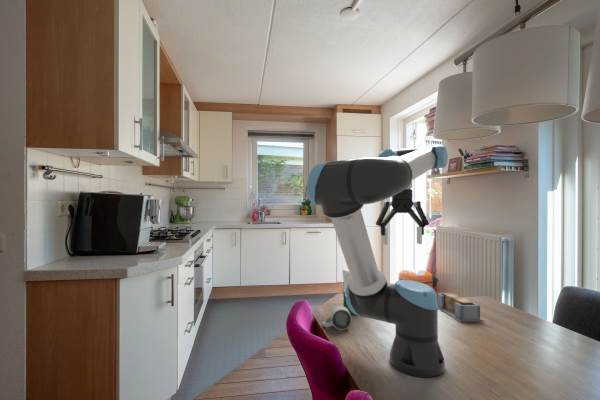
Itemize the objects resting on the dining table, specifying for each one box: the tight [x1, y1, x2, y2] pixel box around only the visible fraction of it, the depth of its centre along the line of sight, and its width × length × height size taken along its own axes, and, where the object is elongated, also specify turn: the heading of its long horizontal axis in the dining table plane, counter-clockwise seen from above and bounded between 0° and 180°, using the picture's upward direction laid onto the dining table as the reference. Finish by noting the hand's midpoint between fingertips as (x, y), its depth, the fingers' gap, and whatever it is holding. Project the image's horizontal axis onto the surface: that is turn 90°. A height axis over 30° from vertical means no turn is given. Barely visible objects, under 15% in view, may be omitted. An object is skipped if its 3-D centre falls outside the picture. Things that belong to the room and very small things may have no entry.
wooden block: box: [443, 292, 473, 313], centre depth 137 cm, size 14×4×6 cm, turn 11°
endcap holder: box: [436, 292, 484, 323], centre depth 137 cm, size 20×10×6 cm, turn 5°
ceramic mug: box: [322, 305, 353, 331], centre depth 122 cm, size 11×8×8 cm
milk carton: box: [341, 268, 355, 315], centre depth 140 cm, size 9×9×20 cm
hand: (402, 243), depth 122 cm, fingers open, 13 cm apart
